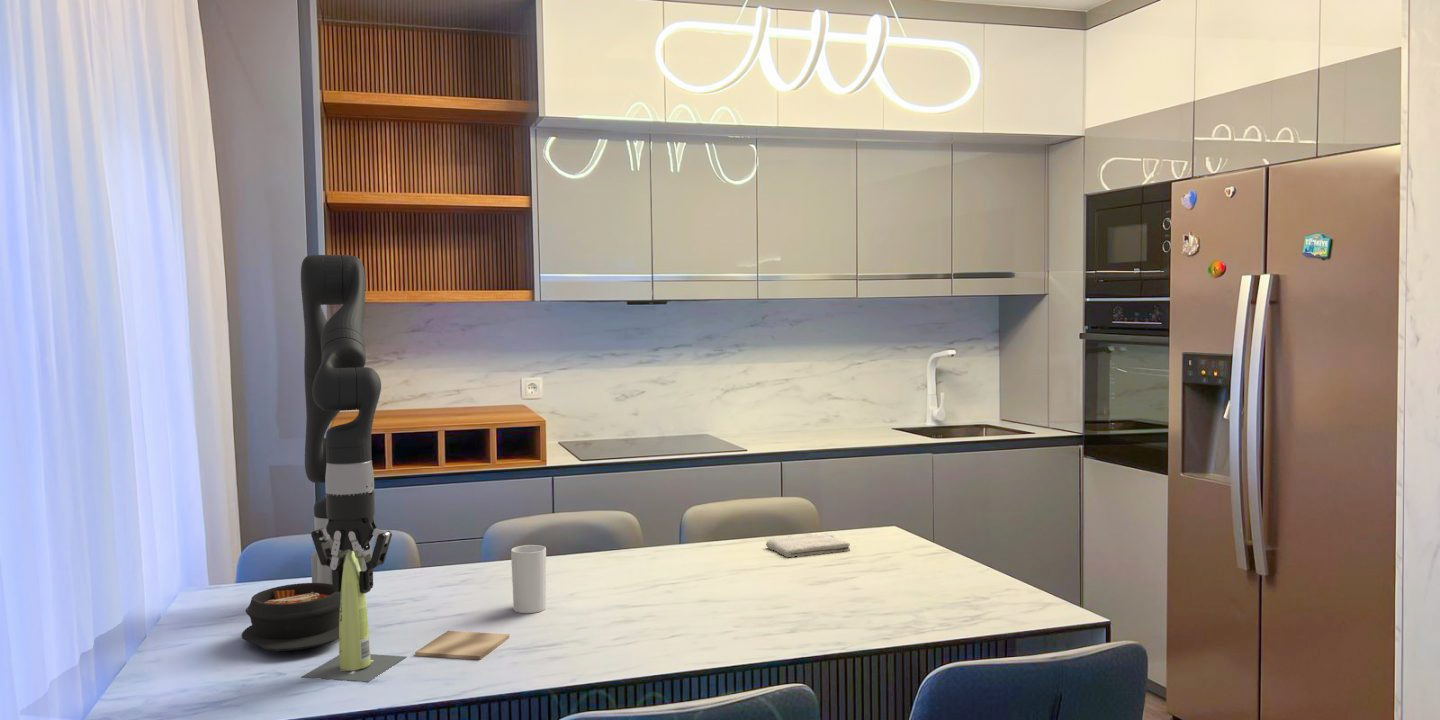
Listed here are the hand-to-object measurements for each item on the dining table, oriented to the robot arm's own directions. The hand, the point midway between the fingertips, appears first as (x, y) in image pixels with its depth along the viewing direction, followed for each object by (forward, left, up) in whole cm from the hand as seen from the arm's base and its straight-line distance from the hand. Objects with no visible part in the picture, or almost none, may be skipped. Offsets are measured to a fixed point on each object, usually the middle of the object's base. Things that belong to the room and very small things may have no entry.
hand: (353, 591), depth 171 cm
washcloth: (+63, +96, -14) cm, 116 cm away
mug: (+15, +38, -13) cm, 43 cm away
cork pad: (+13, +13, -13) cm, 22 cm away
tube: (0, 0, -13) cm, 13 cm away
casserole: (-19, +12, -13) cm, 26 cm away
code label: (0, 0, -13) cm, 13 cm away
